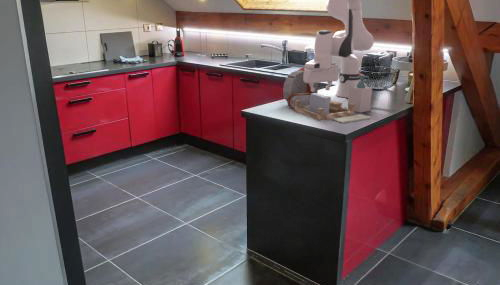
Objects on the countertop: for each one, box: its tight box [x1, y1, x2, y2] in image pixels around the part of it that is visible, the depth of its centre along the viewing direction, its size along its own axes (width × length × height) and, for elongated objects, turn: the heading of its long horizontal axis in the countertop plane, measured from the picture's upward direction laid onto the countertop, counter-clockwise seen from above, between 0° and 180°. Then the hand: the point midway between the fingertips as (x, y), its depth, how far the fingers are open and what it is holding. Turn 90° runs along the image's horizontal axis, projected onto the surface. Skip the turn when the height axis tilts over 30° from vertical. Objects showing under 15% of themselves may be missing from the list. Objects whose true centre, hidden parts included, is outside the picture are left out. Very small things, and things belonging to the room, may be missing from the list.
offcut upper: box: [329, 100, 343, 110], centre depth 224 cm, size 4×9×3 cm, turn 44°
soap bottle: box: [346, 74, 373, 114], centre depth 228 cm, size 9×9×19 cm
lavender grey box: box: [309, 93, 331, 115], centre depth 220 cm, size 3×12×10 cm, turn 30°
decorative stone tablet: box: [282, 66, 319, 102], centre depth 244 cm, size 19×6×30 cm
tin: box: [286, 93, 311, 110], centre depth 232 cm, size 15×3×8 cm, turn 109°
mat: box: [332, 113, 372, 124], centre depth 213 cm, size 19×7×1 cm, turn 120°
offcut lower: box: [329, 108, 343, 114], centre depth 225 cm, size 5×11×3 cm, turn 34°
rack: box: [294, 95, 355, 122], centre depth 222 cm, size 22×21×6 cm
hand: (320, 90), depth 217 cm, fingers open, 8 cm apart
